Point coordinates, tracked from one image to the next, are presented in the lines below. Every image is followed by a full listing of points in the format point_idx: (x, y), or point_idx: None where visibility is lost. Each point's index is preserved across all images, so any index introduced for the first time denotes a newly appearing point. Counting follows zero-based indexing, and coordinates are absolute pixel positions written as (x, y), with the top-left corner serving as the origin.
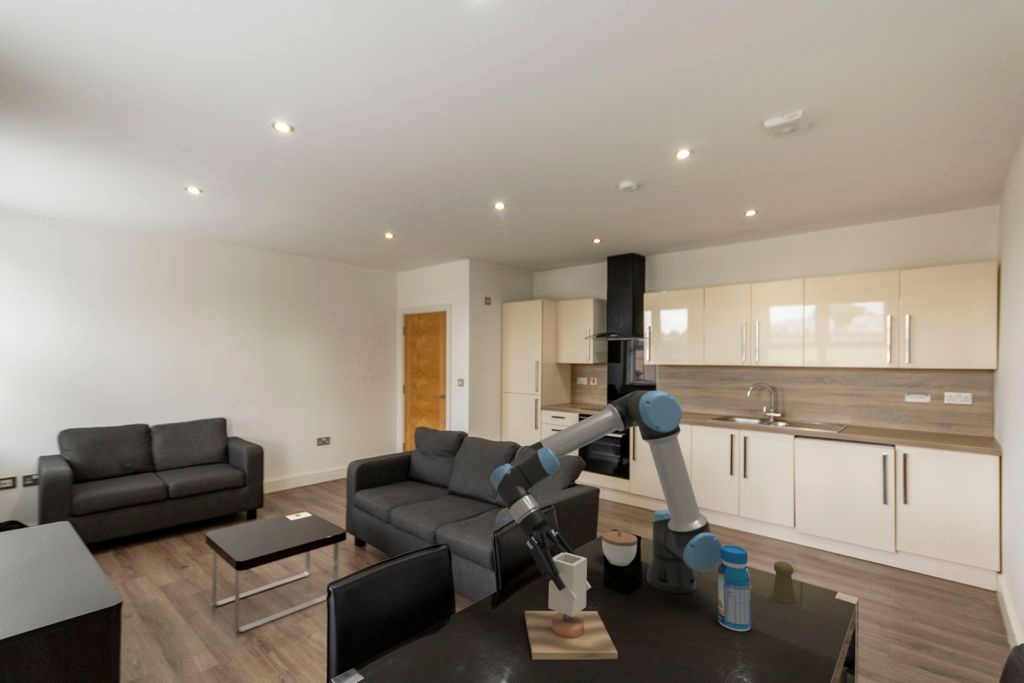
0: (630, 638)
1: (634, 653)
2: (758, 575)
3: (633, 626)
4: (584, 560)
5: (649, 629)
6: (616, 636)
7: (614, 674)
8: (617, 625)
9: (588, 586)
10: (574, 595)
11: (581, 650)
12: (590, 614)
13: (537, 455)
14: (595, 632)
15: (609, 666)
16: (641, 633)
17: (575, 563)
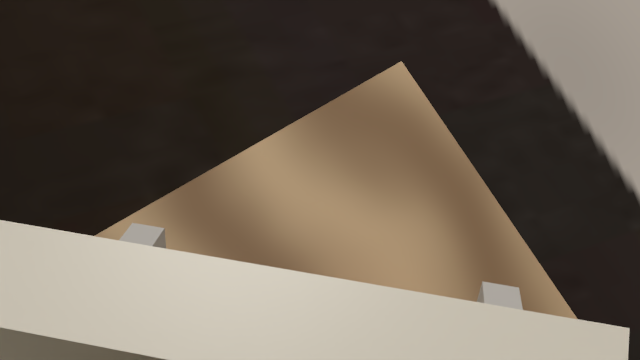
0: (162, 70)
1: (298, 20)
2: None
3: (25, 86)
4: (53, 229)
5: (24, 9)
6: (175, 139)
7: (535, 56)
8: (50, 166)
9: (156, 244)
10: (502, 305)
11: (497, 242)
12: None
13: None
14: (251, 230)
15: (483, 94)
16: (84, 34)
17: (410, 355)
